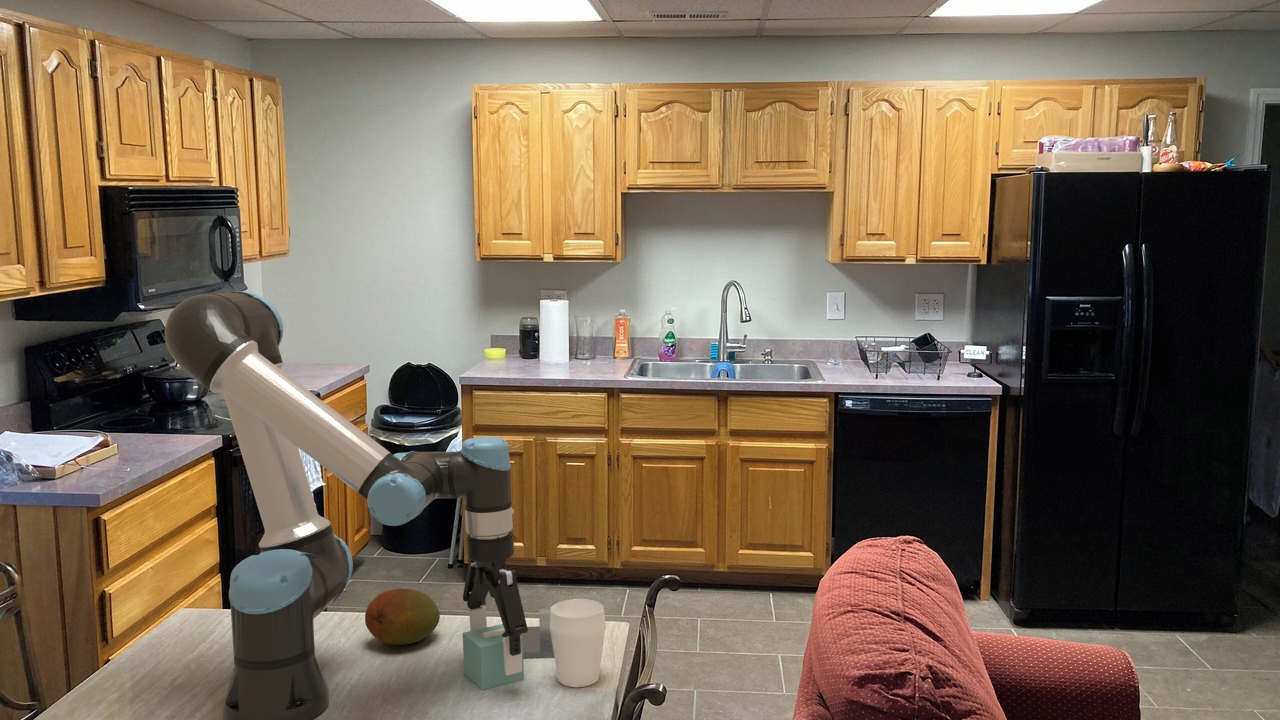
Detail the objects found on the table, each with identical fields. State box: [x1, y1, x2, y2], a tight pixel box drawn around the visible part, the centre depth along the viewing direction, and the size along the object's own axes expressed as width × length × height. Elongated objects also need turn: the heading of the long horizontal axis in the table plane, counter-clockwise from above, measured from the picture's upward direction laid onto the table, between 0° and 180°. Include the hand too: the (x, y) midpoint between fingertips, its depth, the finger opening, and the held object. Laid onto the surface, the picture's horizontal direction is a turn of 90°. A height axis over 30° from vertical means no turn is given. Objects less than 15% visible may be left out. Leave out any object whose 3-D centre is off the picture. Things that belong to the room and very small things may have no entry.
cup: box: [549, 598, 606, 688], centre depth 164 cm, size 9×9×12 cm
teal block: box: [462, 623, 525, 690], centre depth 166 cm, size 7×7×8 cm
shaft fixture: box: [521, 608, 555, 659], centre depth 179 cm, size 12×12×6 cm
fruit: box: [364, 588, 441, 646], centre depth 181 cm, size 12×13×10 cm
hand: (495, 659), depth 166 cm, fingers open, 13 cm apart
